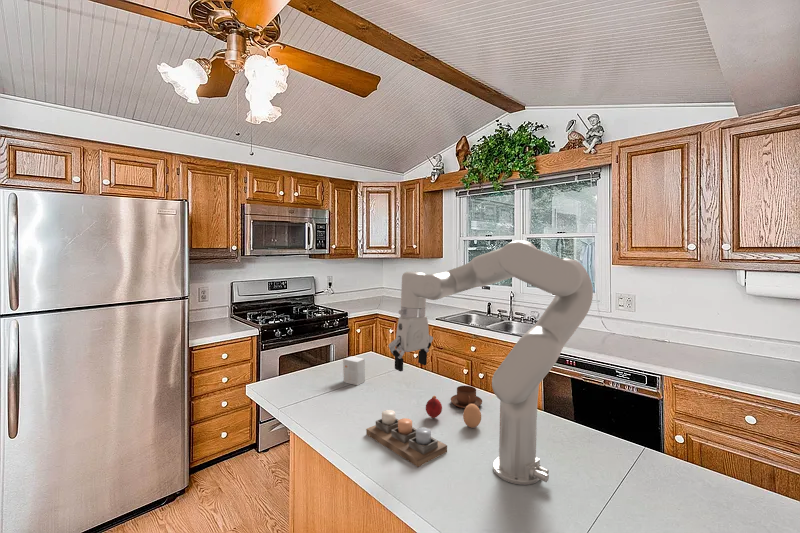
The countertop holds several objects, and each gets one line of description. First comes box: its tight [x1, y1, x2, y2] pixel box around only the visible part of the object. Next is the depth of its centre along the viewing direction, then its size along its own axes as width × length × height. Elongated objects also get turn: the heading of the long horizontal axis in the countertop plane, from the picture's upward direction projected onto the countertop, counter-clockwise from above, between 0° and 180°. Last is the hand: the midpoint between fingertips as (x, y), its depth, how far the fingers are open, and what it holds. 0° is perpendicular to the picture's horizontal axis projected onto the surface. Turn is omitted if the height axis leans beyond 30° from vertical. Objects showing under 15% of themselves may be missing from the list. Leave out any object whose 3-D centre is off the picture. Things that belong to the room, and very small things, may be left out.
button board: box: [365, 417, 448, 468], centre depth 120 cm, size 24×12×4 cm, turn 41°
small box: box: [342, 355, 366, 386], centre depth 172 cm, size 8×6×10 cm
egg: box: [462, 404, 482, 429], centre depth 130 cm, size 6×6×8 cm
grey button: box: [415, 427, 432, 445], centre depth 113 cm, size 4×4×3 cm
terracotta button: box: [398, 417, 413, 435], centre depth 120 cm, size 4×4×3 cm
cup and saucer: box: [450, 385, 483, 409], centre depth 148 cm, size 12×12×6 cm
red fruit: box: [425, 395, 443, 419], centre depth 137 cm, size 6×6×8 cm
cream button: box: [381, 409, 396, 425], centre depth 126 cm, size 4×4×3 cm
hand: (410, 367), depth 119 cm, fingers open, 9 cm apart
